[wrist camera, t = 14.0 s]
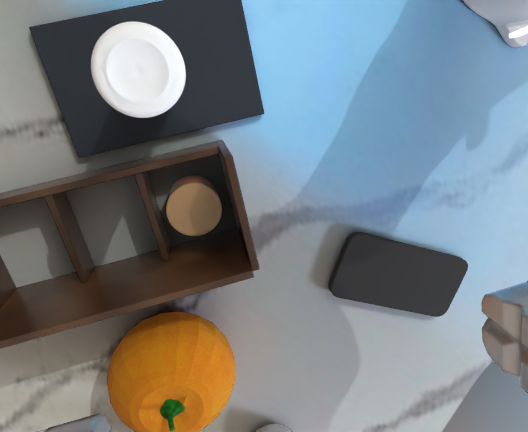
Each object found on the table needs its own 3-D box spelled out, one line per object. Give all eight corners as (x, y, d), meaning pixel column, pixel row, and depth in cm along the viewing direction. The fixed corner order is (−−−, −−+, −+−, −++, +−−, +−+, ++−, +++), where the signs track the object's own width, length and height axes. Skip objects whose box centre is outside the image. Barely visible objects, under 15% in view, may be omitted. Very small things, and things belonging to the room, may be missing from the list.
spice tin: (211, 168, 36) (214, 177, 33) (223, 215, 37) (227, 228, 34) (161, 181, 35) (158, 191, 32) (175, 227, 37) (175, 242, 34)
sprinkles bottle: (192, 58, 32) (198, 44, 20) (174, 112, 33) (169, 132, 21) (135, 33, 31) (103, 2, 18) (119, 91, 32) (77, 98, 19)
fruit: (249, 359, 43) (267, 435, 34) (155, 411, 43) (147, 502, 34) (195, 277, 39) (198, 339, 30) (89, 335, 39) (60, 416, 30)
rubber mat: (237, -13, 32) (238, -15, 31) (262, 113, 35) (264, 113, 35) (31, 28, 30) (28, 27, 29) (80, 156, 33) (78, 157, 33)
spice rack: (222, 139, 35) (234, 158, 27) (245, 232, 38) (262, 275, 30) (-35, 201, 33) (-110, 243, 25) (12, 295, 36) (-39, 360, 28)
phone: (443, 318, 46) (327, 296, 41) (439, 314, 46) (324, 292, 42) (471, 261, 44) (353, 231, 39) (466, 258, 44) (349, 228, 40)
